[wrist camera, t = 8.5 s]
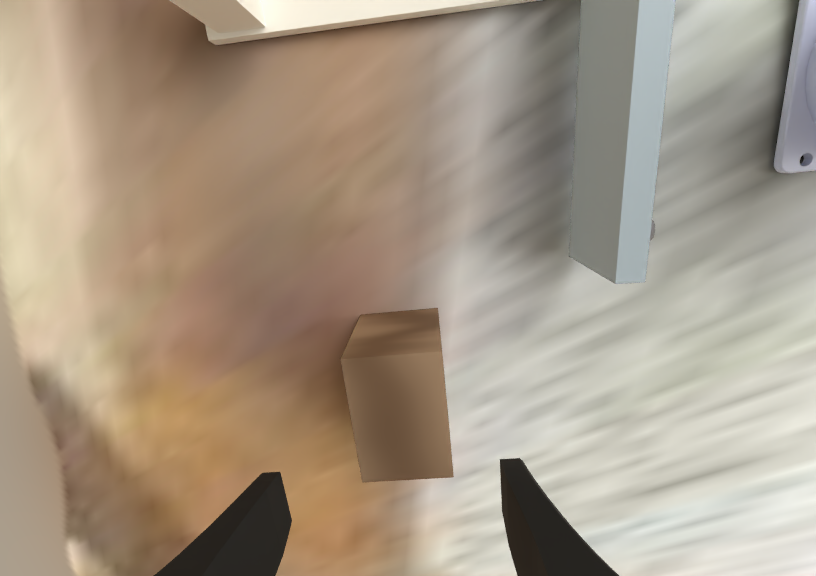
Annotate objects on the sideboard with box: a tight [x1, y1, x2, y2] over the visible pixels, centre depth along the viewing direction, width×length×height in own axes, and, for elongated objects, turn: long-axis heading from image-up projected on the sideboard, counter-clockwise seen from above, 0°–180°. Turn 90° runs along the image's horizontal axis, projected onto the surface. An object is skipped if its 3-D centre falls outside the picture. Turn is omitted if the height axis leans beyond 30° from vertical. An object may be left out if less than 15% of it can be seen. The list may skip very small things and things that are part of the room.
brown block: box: [340, 308, 454, 482], centre depth 18 cm, size 4×6×5 cm, turn 6°
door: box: [569, 0, 676, 284], centre depth 13 cm, size 12×2×5 cm, turn 4°
